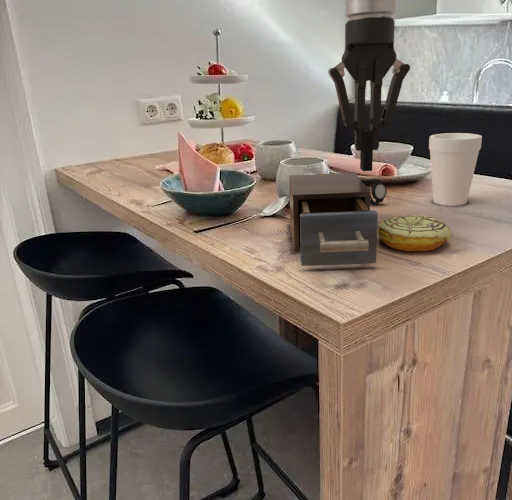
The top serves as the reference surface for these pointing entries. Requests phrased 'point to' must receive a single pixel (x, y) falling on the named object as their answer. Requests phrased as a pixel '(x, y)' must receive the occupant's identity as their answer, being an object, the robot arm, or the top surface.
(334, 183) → the cabinet
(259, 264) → the top surface
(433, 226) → the decorated donut
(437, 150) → the foam cup
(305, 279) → the top surface
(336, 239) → the drawer
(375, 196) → the smartwatch
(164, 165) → the top surface
